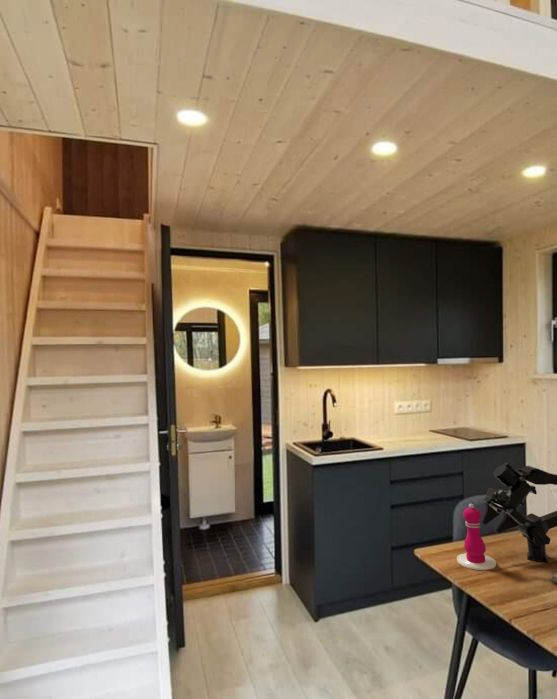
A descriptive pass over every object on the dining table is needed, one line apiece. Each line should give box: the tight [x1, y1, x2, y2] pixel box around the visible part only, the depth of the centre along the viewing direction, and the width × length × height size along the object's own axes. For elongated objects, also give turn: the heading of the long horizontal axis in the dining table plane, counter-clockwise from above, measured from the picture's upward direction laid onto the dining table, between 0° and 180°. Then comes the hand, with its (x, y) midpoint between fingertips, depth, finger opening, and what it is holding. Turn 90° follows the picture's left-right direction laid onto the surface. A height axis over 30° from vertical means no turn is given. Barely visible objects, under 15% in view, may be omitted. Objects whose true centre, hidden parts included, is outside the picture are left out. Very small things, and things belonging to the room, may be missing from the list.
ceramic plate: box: [456, 552, 497, 571], centre depth 155 cm, size 13×13×1 cm
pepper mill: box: [462, 503, 487, 563], centre depth 156 cm, size 7×7×20 cm
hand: (490, 527), depth 157 cm, fingers open, 9 cm apart
